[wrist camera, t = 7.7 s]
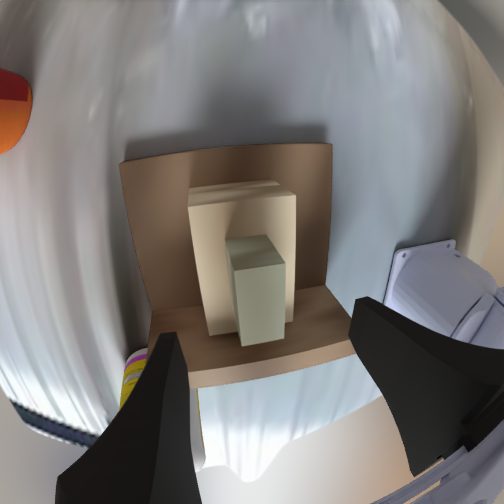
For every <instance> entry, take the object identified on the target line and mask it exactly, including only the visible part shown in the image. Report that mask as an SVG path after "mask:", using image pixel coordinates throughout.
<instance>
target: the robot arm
mask: <svg viewBox="0 0 504 504" xmlns="http://www.w3.org/2000/svg"><path fill="white" fill-rule="evenodd" d="M455 245H456V241H455V240H454V239H451V240H446V241H441V242H436V243H431V244H425V245H420V246H415V247H410V248H404V249H399V250H397V251H396V252H395V255H394V259H393V264H392V269H391V274H390V279H389V283H388V287H387V291H386V296H385V300H384V303H383V304H382V303H380V302H378V301H376V300H374V299H372V298H370V297H368V296H367V297H363V298H359V299H355V304H354V310H353V314H352V319H351V324H350V328H349V333H348V336H349V339H350V341H351V343H352V345H353V347H354V349H355V352H356V354H357V355H358V357H359V359H360V360H361V362H362V363H363V365H364V366H365V368H366V369H367V371H368V372H369V374H370V375H371V377H372V379H373V380H374V382H375V383H376V385H377V386H378V388H379V389H380V391H381V393H382V394H383V396H384V398H385V400H386V402H387V404H388V406H389V408H390V410H391V413H392V415H393V417H394V419H395V422H396V424H397V427H398V429H399V432H400V435H401V438H402V441H403V444H404V447H405V451H406V455H407V458H408V463H409V467H410V471H411V473H412V474H413V476H414V477H415V476H417V475H419V474H420V473H422V472H423V471H425V470H426V469H428V468H430V467H431V466H433V465H434V464H435V463H437V462H438V461H440V460H441V459H442V458H444V461H442V462H441V463H440V464H438V465H437V466H435V467H434V468H433V469H431V470H430V471H428V472H427V473H425V474H423V475H422V476H420V477H419V478H417V479H416V480H414V481H412V482H411V483H409V484H407V485H406V486H404V487H402V488H400V489H398V490H397V491H395V492H393V493H391V494H389V495H387V496H385V497H383V498H381V499H379V500H377V501H375V502H373V503H371V504H403V503H404V502H406V501H408V500H410V499H411V498H413V497H415V496H416V495H417V494H419V493H421V492H422V491H424V490H426V489H427V488H429V487H430V486H431V485H433V484H434V483H436V482H437V481H439V480H440V479H441V481H440V485H439V486H437V487H435V488H434V489H432V490H431V491H429V492H427V493H426V494H424V495H422V496H421V497H419V498H418V499H416V500H415V501H414V502H412V503H410V504H492V503H493V502H494V500H495V499H496V498H497V496H498V495H499V494H500V492H501V491H502V489H503V488H504V287H501V288H498V286H497V284H496V281H495V280H494V278H493V276H492V275H491V274H490V273H489V272H488V271H486V270H484V269H483V268H482V267H480V266H479V265H478V264H476V263H475V262H473V261H472V260H470V259H469V258H467V257H466V256H464V255H463V254H461V253H460V252H458V251H457V250H455ZM55 504H202V501H201V497H200V493H199V488H198V483H197V478H196V473H195V468H194V462H193V456H192V449H191V438H190V386H189V377H188V368H187V364H186V361H185V358H184V355H183V352H182V349H181V346H180V342H179V339H178V336H177V332H167V333H160V335H159V336H158V338H157V341H156V343H155V345H154V348H153V350H152V352H151V354H150V356H149V359H148V361H147V363H146V365H145V367H144V369H143V371H142V373H141V375H140V377H139V379H138V380H137V382H136V384H135V386H134V387H133V389H132V391H131V393H130V395H129V396H128V398H127V400H126V401H125V403H124V404H123V406H122V407H121V409H120V410H119V412H118V413H117V415H116V416H115V418H114V419H113V420H112V422H111V423H110V424H109V426H108V427H107V428H106V429H105V431H104V432H103V433H102V434H101V436H100V437H99V438H98V439H97V440H96V441H95V442H94V443H93V445H92V446H91V447H90V448H89V449H88V450H87V451H86V452H85V453H84V454H83V455H82V456H81V457H80V458H79V459H78V460H77V461H76V462H75V463H73V464H72V465H71V466H70V467H69V468H68V469H66V470H65V471H64V472H63V473H62V474H60V475H59V476H58V478H57V485H56V495H55Z"/></svg>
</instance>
